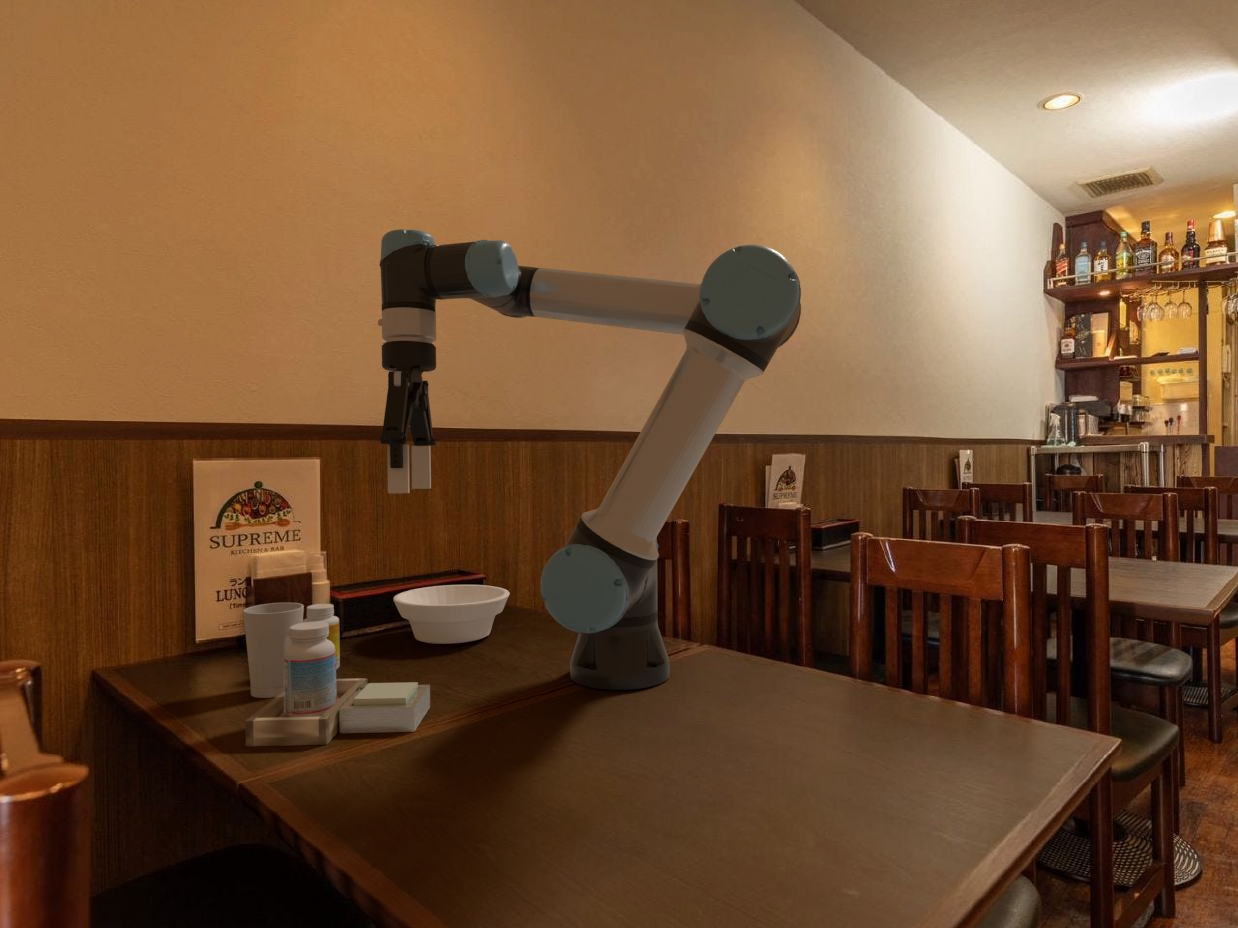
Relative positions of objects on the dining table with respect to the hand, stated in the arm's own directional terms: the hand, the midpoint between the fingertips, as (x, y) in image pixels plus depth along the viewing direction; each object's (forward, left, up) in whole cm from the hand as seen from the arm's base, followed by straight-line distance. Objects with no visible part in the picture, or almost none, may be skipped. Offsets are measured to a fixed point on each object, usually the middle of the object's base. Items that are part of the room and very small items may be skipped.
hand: (410, 491), depth 107 cm
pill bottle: (+10, +12, -28) cm, 32 cm away
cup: (+20, -1, -29) cm, 35 cm away
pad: (0, +12, -26) cm, 29 cm away
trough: (+10, +12, -29) cm, 33 cm away
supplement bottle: (+17, -11, -29) cm, 35 cm away
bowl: (0, -31, -29) cm, 42 cm away
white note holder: (+1, +12, -29) cm, 31 cm away
